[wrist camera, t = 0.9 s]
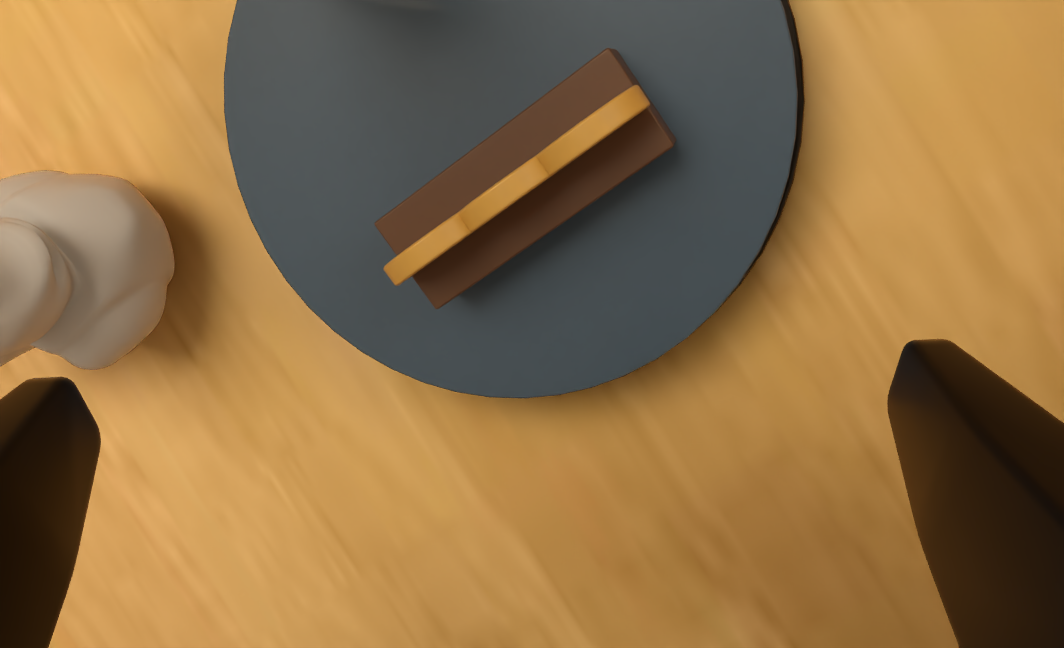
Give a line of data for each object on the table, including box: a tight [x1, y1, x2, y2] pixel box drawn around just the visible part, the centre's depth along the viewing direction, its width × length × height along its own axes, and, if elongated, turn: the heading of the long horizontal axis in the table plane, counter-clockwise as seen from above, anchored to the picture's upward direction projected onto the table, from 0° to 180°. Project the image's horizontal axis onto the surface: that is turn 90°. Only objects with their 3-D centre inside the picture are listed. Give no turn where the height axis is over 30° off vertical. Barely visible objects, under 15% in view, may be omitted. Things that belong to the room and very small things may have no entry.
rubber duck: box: [0, 171, 175, 370], centre depth 22 cm, size 5×7×8 cm
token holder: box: [224, 0, 798, 398], centre depth 16 cm, size 13×13×11 cm
